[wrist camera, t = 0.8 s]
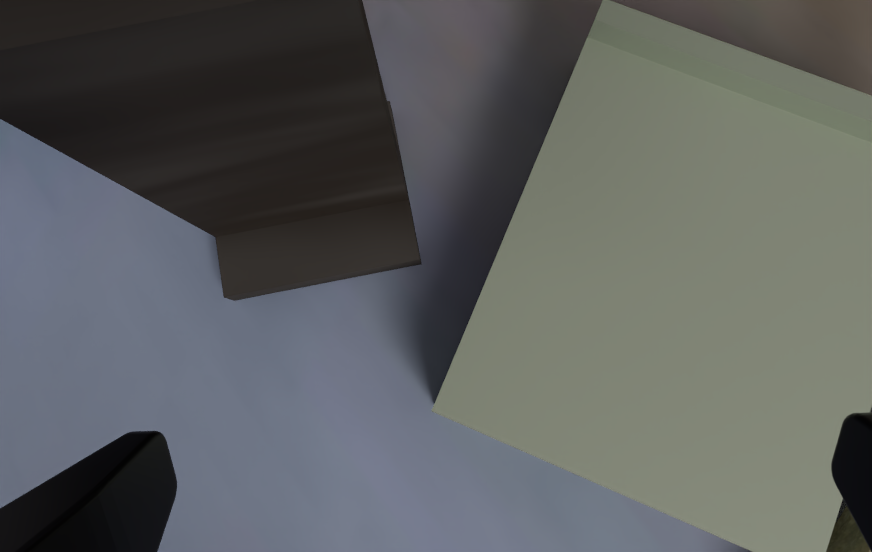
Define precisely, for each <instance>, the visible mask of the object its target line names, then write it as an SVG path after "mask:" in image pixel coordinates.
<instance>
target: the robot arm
mask: <svg viewBox="0 0 872 552" xmlns="http://www.w3.org/2000/svg"><path fill="white" fill-rule="evenodd" d="M831 471H832V476H833V480H834V482H835V484H836V486H837V488H838V490H839V492H840V494H841V496H842V498H843V500H844V501H845V503H846V505H847V507H848V509H849V511H850V513H851V515H852V516H853V518H854V520H855V522H856V524H857V526H858V528H859V530H860V531H861V533H862V535H863V537H864V539H865V541H866V543H867V545H868V547H869V548H870V550H871V552H872V412H867V413H852V414H850V415H848V416H847V417H846V418H845V419H844V421H843V423H842V426H841V430H840V433H839V437H838V440H837V444H836V447H835V451H834V455H833V458H832V462H831ZM176 491H177V480H176V475H175V471H174V468H173V464H172V460H171V456H170V453H169V449H168V445H167V442H166V439H165V437H164V435H163V434H162V433H160V432H158V431H136V432H129V433H127V434H125V435H123V436H121V437H120V438H118V439H116V440H115V441H113V442H111V443H109V444H108V445H106V446H104V447H103V448H101V449H99V450H98V451H96V452H94V453H93V454H91V455H89V456H88V457H86V458H84V459H83V460H81V461H79V462H78V463H76V464H74V465H73V466H71V467H69V468H68V469H66V470H64V471H62V472H61V473H59V474H57V475H56V476H54V477H52V478H51V479H49V480H47V481H46V482H44V483H42V484H41V485H39V486H37V487H36V488H34V489H32V490H31V491H29V492H27V493H26V494H24V495H22V496H20V497H19V498H17V499H15V500H14V501H12V502H10V503H9V504H7V505H5V506H4V507H2V508H0V552H157V551H158V548H159V545H160V542H161V539H162V536H163V533H164V530H165V527H166V524H167V521H168V518H169V515H170V512H171V509H172V506H173V503H174V500H175V496H176Z"/></svg>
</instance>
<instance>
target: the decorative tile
mask: <svg viewBox="0 0 872 552" xmlns="http://www.w3.org/2000/svg"><path fill="white" fill-rule="evenodd" d="M826 552H871V550H870V548H869V547H868V545H867V543H866V541H865V539H864V537H863V535H862V533H861V531H860V530H859V528H858V526H857V524H856V522H855V520H854V518H853V516H852V515H851V513H850V511H849V509H848V507H847V506H846V508H845V509H844V511H843V513H842V514H841V516H840V517H839V519H838V520H837V522H836V523H835V525H834V528H833V531H832V535H831V538H830V541H829V544H828V547H827V550H826Z"/></svg>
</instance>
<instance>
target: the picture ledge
mask: <svg viewBox="0 0 872 552" xmlns="http://www.w3.org/2000/svg"><path fill="white" fill-rule="evenodd" d="M871 407H872V96H871V95H868V94H865V93H863V92H860V91H857V90H854V89H852V88H849V87H846V86H843V85H841V84H838V83H835V82H832V81H830V80H827V79H824V78H821V77H819V76H816V75H813V74H810V73H808V72H805V71H802V70H800V69H797V68H794V67H791V66H789V65H786V64H783V63H780V62H778V61H775V60H772V59H769V58H767V57H764V56H761V55H758V54H756V53H753V52H750V51H747V50H745V49H742V48H739V47H736V46H734V45H731V44H728V43H725V42H723V41H720V40H717V39H714V38H712V37H709V36H706V35H703V34H701V33H698V32H695V31H692V30H690V29H687V28H684V27H682V26H679V25H676V24H673V23H671V22H668V21H665V20H662V19H660V18H657V17H654V16H651V15H649V14H646V13H643V12H640V11H638V10H635V9H632V8H629V7H627V6H624V5H621V4H618V3H616V2H613V1H610V0H603V1H602V3H601V6H600V8H599V10H598V13H597V15H596V18H595V20H594V23H593V25H592V27H591V30H590V32H589V35H588V37H587V39H586V42H585V44H584V47H583V49H582V51H581V54H580V56H579V59H578V61H577V63H576V66H575V68H574V71H573V73H572V75H571V78H570V80H569V83H568V85H567V87H566V90H565V92H564V95H563V97H562V99H561V102H560V104H559V107H558V109H557V111H556V114H555V116H554V119H553V121H552V123H551V126H550V128H549V131H548V133H547V135H546V138H545V140H544V143H543V145H542V147H541V150H540V152H539V155H538V157H537V159H536V162H535V164H534V167H533V169H532V171H531V174H530V176H529V179H528V181H527V183H526V186H525V188H524V191H523V193H522V195H521V198H520V200H519V203H518V205H517V207H516V210H515V212H514V214H513V217H512V219H511V222H510V224H509V226H508V229H507V231H506V234H505V236H504V238H503V241H502V243H501V246H500V248H499V250H498V253H497V255H496V258H495V260H494V262H493V265H492V267H491V270H490V272H489V274H488V277H487V279H486V282H485V284H484V286H483V289H482V291H481V294H480V296H479V298H478V301H477V303H476V306H475V308H474V310H473V313H472V315H471V318H470V320H469V322H468V325H467V327H466V330H465V332H464V334H463V337H462V339H461V342H460V344H459V346H458V349H457V351H456V354H455V356H454V358H453V361H452V363H451V366H450V368H449V370H448V373H447V375H446V378H445V380H444V382H443V385H442V387H441V390H440V392H439V394H438V397H437V399H436V402H435V404H434V406H433V409H432V412H435V413H437V414H439V415H441V416H444V417H446V418H448V419H451V420H453V421H455V422H457V423H460V424H462V425H464V426H467V427H469V428H471V429H473V430H476V431H478V432H480V433H483V434H485V435H487V436H489V437H492V438H494V439H496V440H498V441H501V442H503V443H505V444H508V445H510V446H512V447H514V448H517V449H519V450H521V451H524V452H526V453H528V454H530V455H533V456H535V457H537V458H540V459H542V460H544V461H546V462H549V463H551V464H553V465H556V466H558V467H560V468H562V469H565V470H567V471H569V472H572V473H574V474H576V475H578V476H581V477H583V478H585V479H588V480H590V481H592V482H594V483H597V484H599V485H601V486H604V487H606V488H608V489H610V490H613V491H615V492H617V493H620V494H622V495H624V496H626V497H629V498H631V499H633V500H636V501H638V502H640V503H642V504H645V505H647V506H649V507H652V508H654V509H656V510H658V511H661V512H663V513H665V514H668V515H670V516H672V517H674V518H677V519H679V520H681V521H684V522H686V523H688V524H690V525H693V526H695V527H697V528H699V529H702V530H704V531H706V532H709V533H711V534H713V535H715V536H718V537H720V538H722V539H725V540H727V541H729V542H731V543H734V544H736V545H738V546H741V547H743V548H745V549H747V550H750V551H752V552H826V550H827V547H828V544H829V541H830V538H831V535H832V531H833V528H834V525H835V522H836V519H837V515H838V512H839V509H840V506H841V503H842V500H843V498H842V496H841V494H840V492H839V490H838V488H837V486H836V484H835V482H834V480H833V476H832V471H831V462H832V458H833V455H834V451H835V447H836V444H837V440H838V437H839V433H840V430H841V426H842V423H843V421H844V419H845V418H846V417H847V416H848V415H850V414H852V413H867V412H870V410H871Z"/></svg>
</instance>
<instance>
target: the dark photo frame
mask: <svg viewBox="0 0 872 552" xmlns="http://www.w3.org/2000/svg"><path fill="white" fill-rule="evenodd" d="M0 119H2V120H4V121H5V122H7V123H9V124H11V125H13V126H14V127H16V128H18V129H20V130H22V131H24V132H25V133H27V134H29V135H31V136H33V137H34V138H36V139H38V140H40V141H42V142H44V143H45V144H47V145H49V146H51V147H53V148H54V149H56V150H58V151H60V152H62V153H64V154H65V155H67V156H69V157H71V158H73V159H74V160H76V161H78V162H80V163H82V164H84V165H85V166H87V167H89V168H91V169H93V170H94V171H96V172H98V173H100V174H102V175H104V176H105V177H107V178H109V179H111V180H113V181H114V182H116V183H118V184H120V185H122V186H124V187H125V188H127V189H129V190H131V191H133V192H134V193H136V194H138V195H140V196H142V197H144V198H145V199H147V200H149V201H151V202H153V203H154V204H156V205H158V206H160V207H162V208H164V209H165V210H167V211H169V212H171V213H173V214H174V215H176V216H178V217H180V218H182V219H184V220H185V221H187V222H189V223H191V224H193V225H194V226H196V227H198V228H200V229H202V230H204V231H205V232H207V233H209V234H211V235H213V236H214V237H216V244H217V251H218V258H219V266H220V273H221V280H222V288H223V295H224V298H228V299H231V300H240V299H245V298H250V297H255V296H260V295H265V294H270V293H275V292H281V291H286V290H291V289H296V288H301V287H306V286H311V285H316V284H322V283H327V282H332V281H337V280H342V279H347V278H352V277H357V276H363V275H368V274H373V273H378V272H383V271H388V270H393V269H398V268H404V267H409V266H414V265H419V264H421V259H420V254H419V249H418V243H417V238H416V233H415V228H414V223H413V217H412V212H411V207H410V202H409V197H408V191H407V186H406V181H405V176H404V171H403V166H402V160H401V155H400V150H399V145H398V140H397V134H396V129H395V124H394V119H393V114H392V109H391V105H390V101H387V100H386V96H385V92H384V88H383V84H382V80H381V76H380V72H379V68H378V64H377V59H376V55H375V51H374V47H373V43H372V39H371V35H370V31H369V27H368V23H367V19H366V14H365V10H364V6H363V2H362V0H0Z"/></svg>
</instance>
